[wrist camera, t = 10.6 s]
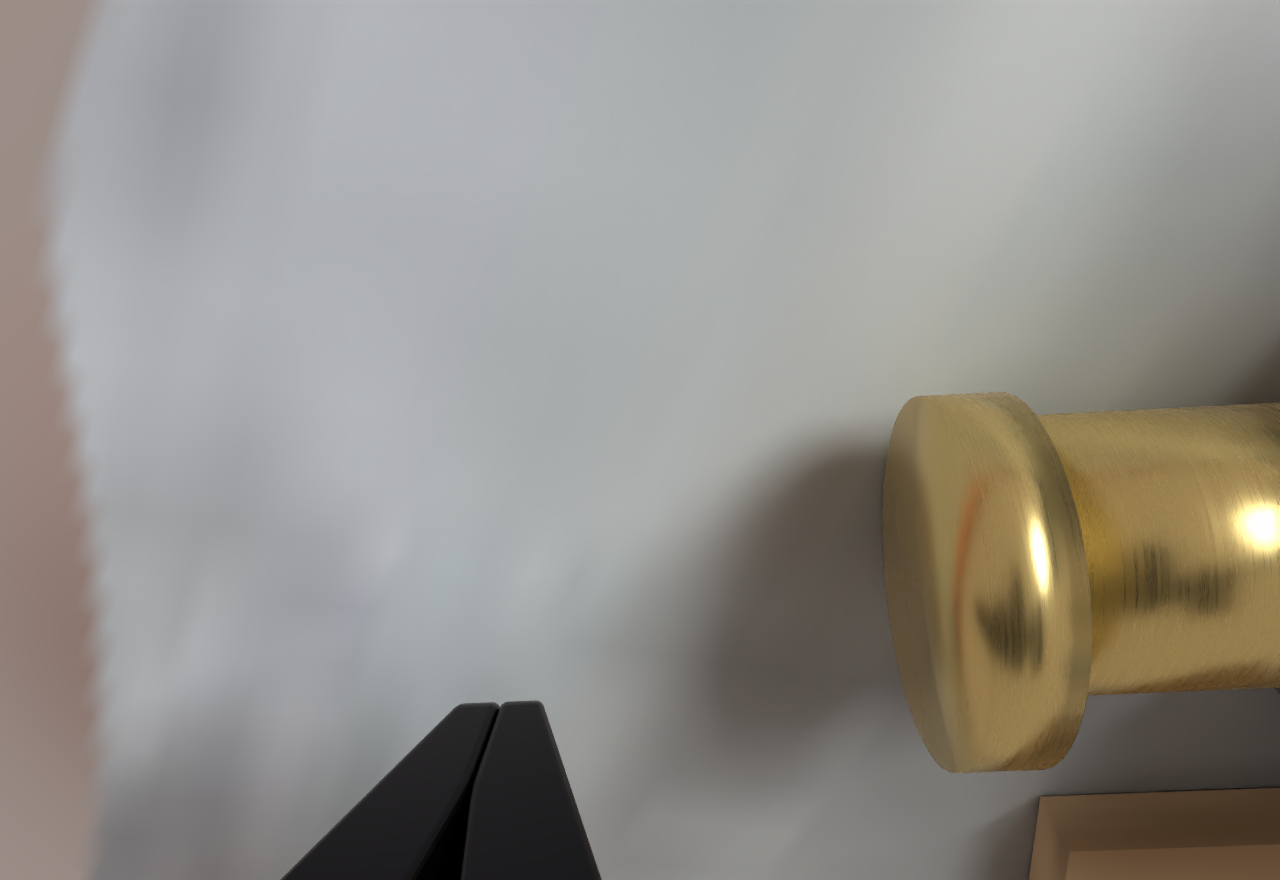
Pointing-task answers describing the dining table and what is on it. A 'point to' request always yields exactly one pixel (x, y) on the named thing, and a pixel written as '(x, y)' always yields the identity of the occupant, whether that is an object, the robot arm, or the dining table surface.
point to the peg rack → (1159, 836)
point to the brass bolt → (1074, 565)
